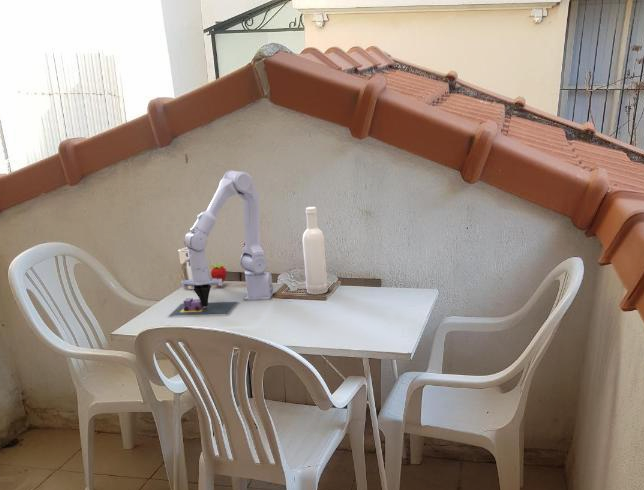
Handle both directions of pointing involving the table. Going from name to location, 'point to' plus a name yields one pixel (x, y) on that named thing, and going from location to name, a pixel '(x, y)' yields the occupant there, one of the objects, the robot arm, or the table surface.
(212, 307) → the play mat
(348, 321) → the table surface
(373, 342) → the table surface
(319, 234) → the bottle
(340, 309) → the table surface
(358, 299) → the table surface
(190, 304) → the toy truck
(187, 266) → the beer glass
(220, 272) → the decorative fruit
